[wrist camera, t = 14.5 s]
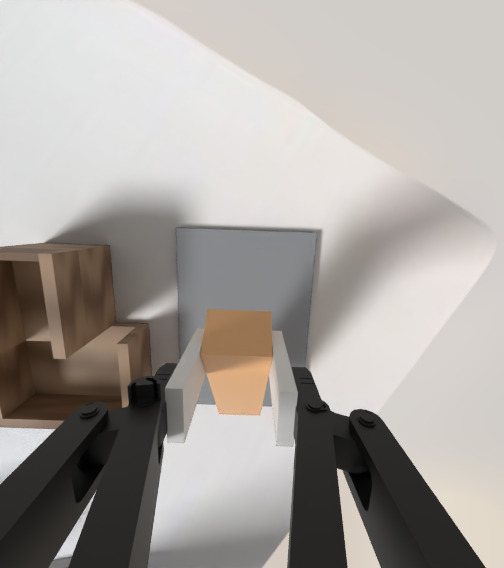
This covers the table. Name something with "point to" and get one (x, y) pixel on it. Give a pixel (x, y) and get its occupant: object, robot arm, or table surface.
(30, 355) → the pocket block
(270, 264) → the mat
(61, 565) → the white cabinet tower
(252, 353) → the tan wooden beam
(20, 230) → the table surface
